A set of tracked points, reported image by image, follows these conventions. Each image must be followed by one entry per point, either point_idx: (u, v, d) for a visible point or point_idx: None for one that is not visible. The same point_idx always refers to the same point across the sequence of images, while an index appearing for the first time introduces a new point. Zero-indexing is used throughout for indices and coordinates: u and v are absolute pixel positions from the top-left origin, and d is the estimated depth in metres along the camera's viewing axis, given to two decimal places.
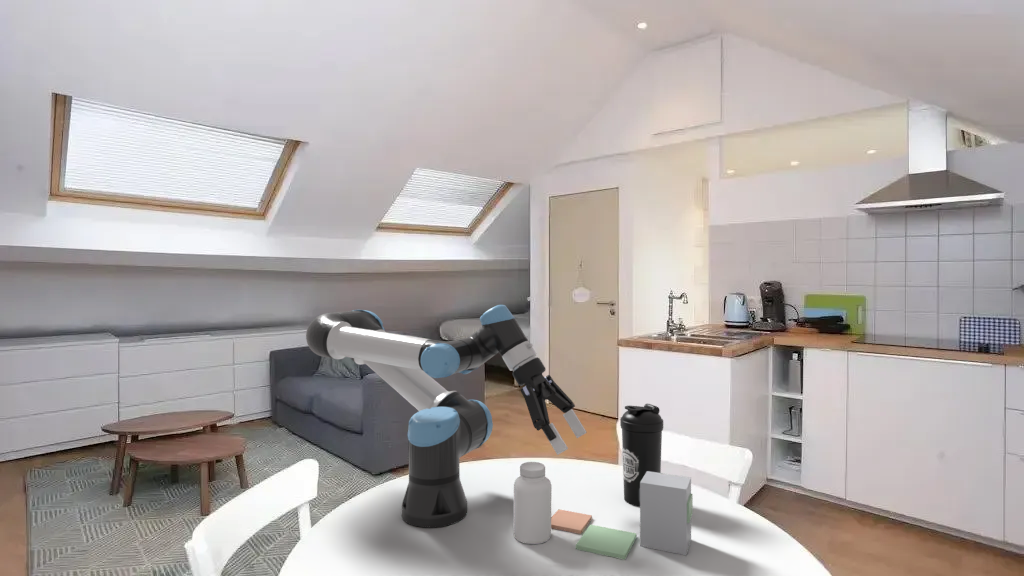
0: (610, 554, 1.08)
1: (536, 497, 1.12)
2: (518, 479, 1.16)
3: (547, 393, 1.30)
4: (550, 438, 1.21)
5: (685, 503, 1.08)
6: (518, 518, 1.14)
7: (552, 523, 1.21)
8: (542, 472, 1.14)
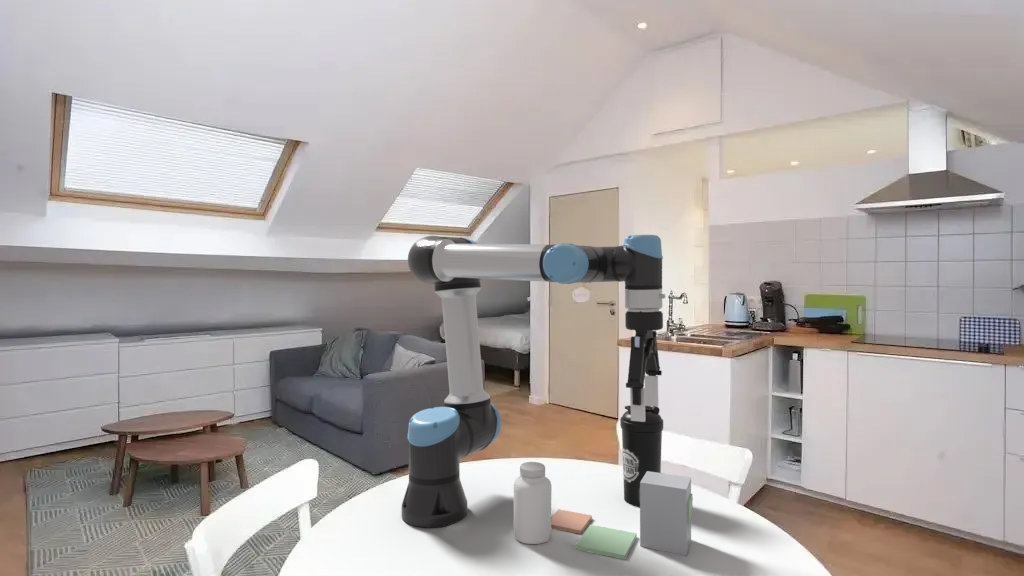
0: (610, 554, 1.08)
1: (536, 497, 1.12)
2: (518, 479, 1.16)
3: None
4: (635, 402, 1.07)
5: (685, 503, 1.08)
6: (518, 518, 1.14)
7: (552, 523, 1.21)
8: (542, 472, 1.14)
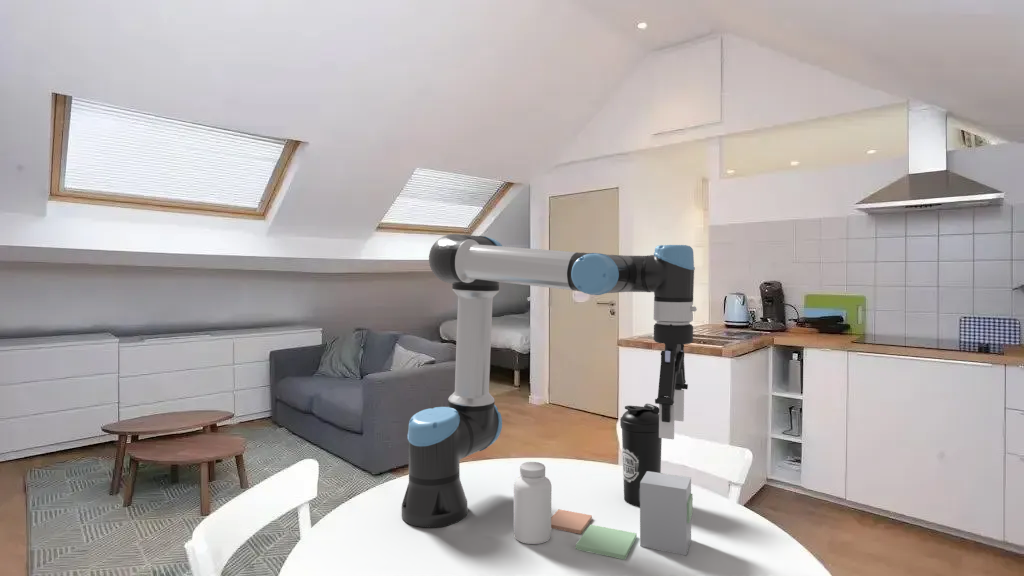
0: (610, 554, 1.08)
1: (536, 497, 1.12)
2: (518, 479, 1.16)
3: None
4: (664, 419, 1.03)
5: (685, 503, 1.08)
6: (518, 518, 1.14)
7: (552, 523, 1.21)
8: (542, 472, 1.14)
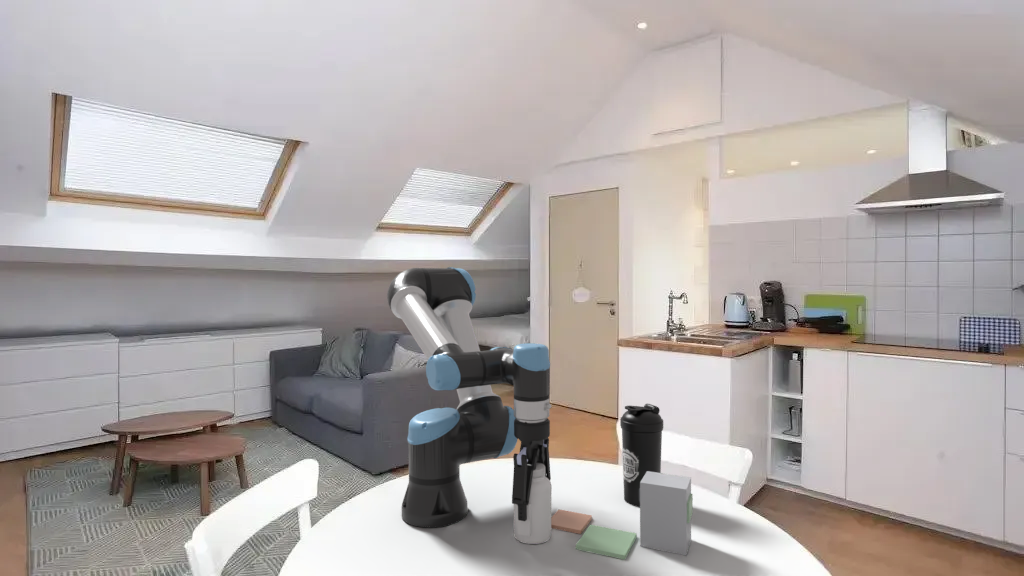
0: (610, 554, 1.08)
1: (536, 497, 1.12)
2: None
3: (536, 459, 1.16)
4: (520, 518, 1.11)
5: (685, 503, 1.08)
6: None
7: (552, 523, 1.21)
8: (542, 472, 1.14)
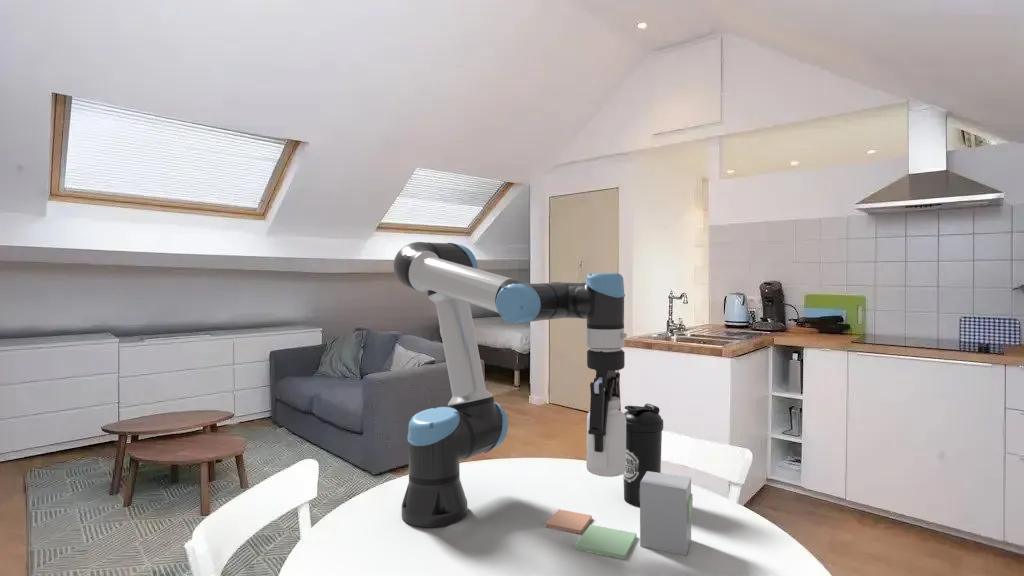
0: (610, 554, 1.08)
1: (613, 428, 1.09)
2: None
3: None
4: (597, 449, 1.08)
5: (685, 503, 1.08)
6: None
7: (552, 523, 1.21)
8: (617, 403, 1.11)
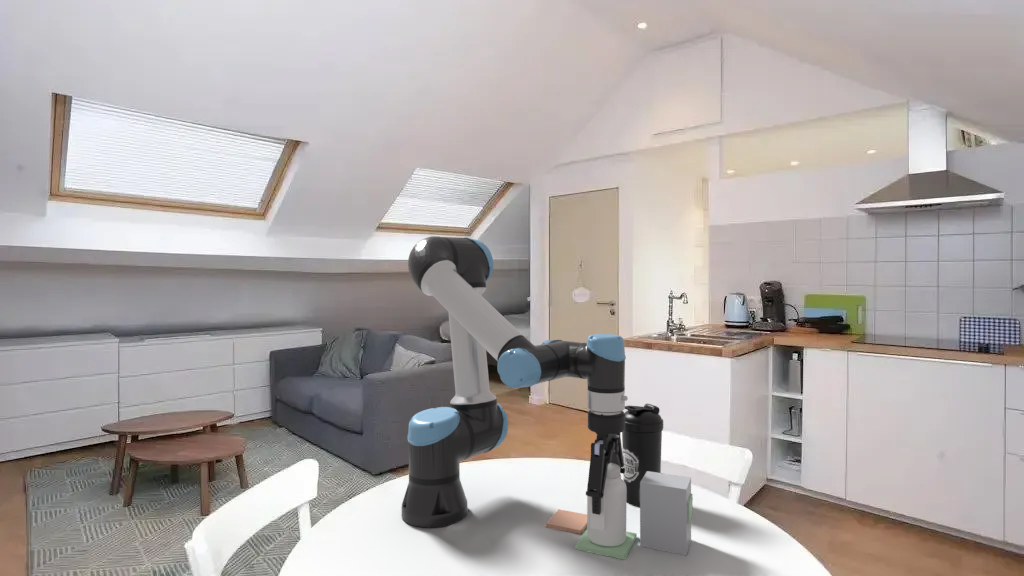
0: (610, 554, 1.08)
1: (613, 498, 1.09)
2: None
3: None
4: (594, 511, 1.06)
5: (685, 503, 1.08)
6: None
7: (552, 523, 1.21)
8: (618, 473, 1.11)
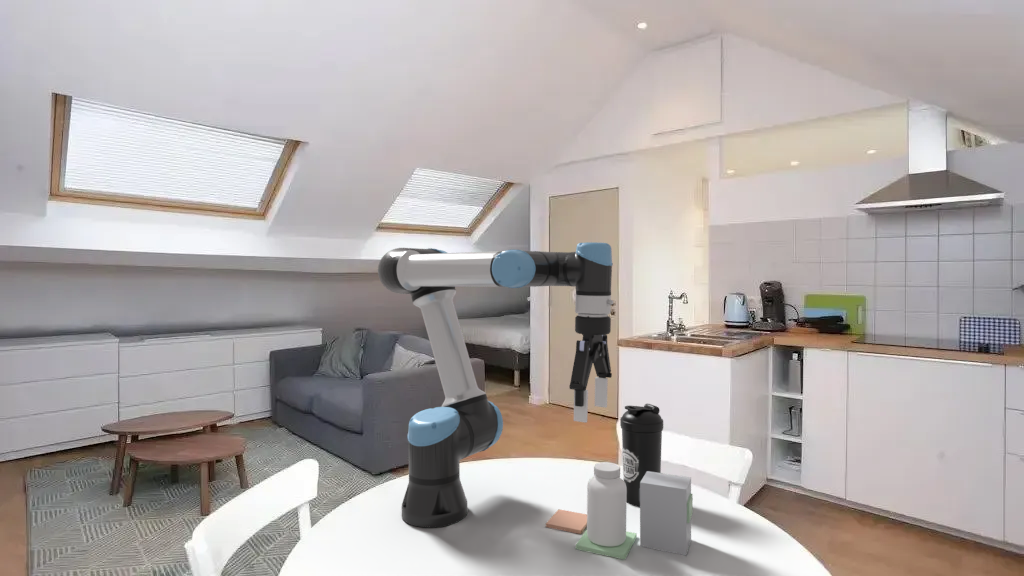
0: (610, 554, 1.08)
1: (613, 498, 1.09)
2: (592, 480, 1.13)
3: (597, 355, 1.18)
4: (577, 404, 1.11)
5: (685, 503, 1.08)
6: (594, 520, 1.11)
7: (552, 523, 1.21)
8: (618, 473, 1.11)
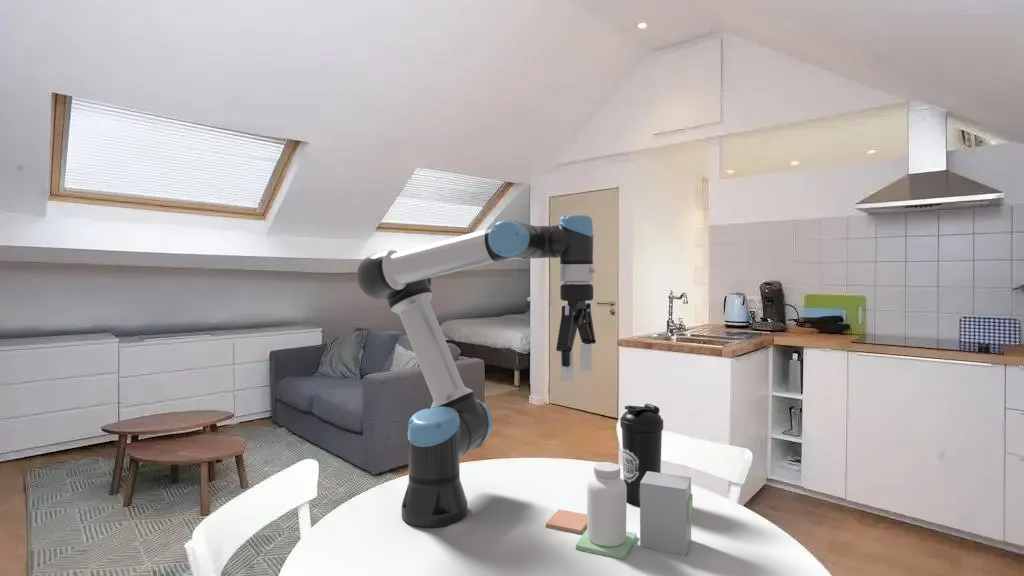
0: (610, 554, 1.08)
1: (613, 498, 1.09)
2: (592, 480, 1.13)
3: (581, 321, 1.26)
4: (564, 364, 1.20)
5: (685, 503, 1.08)
6: (594, 520, 1.11)
7: (552, 523, 1.21)
8: (618, 473, 1.11)
